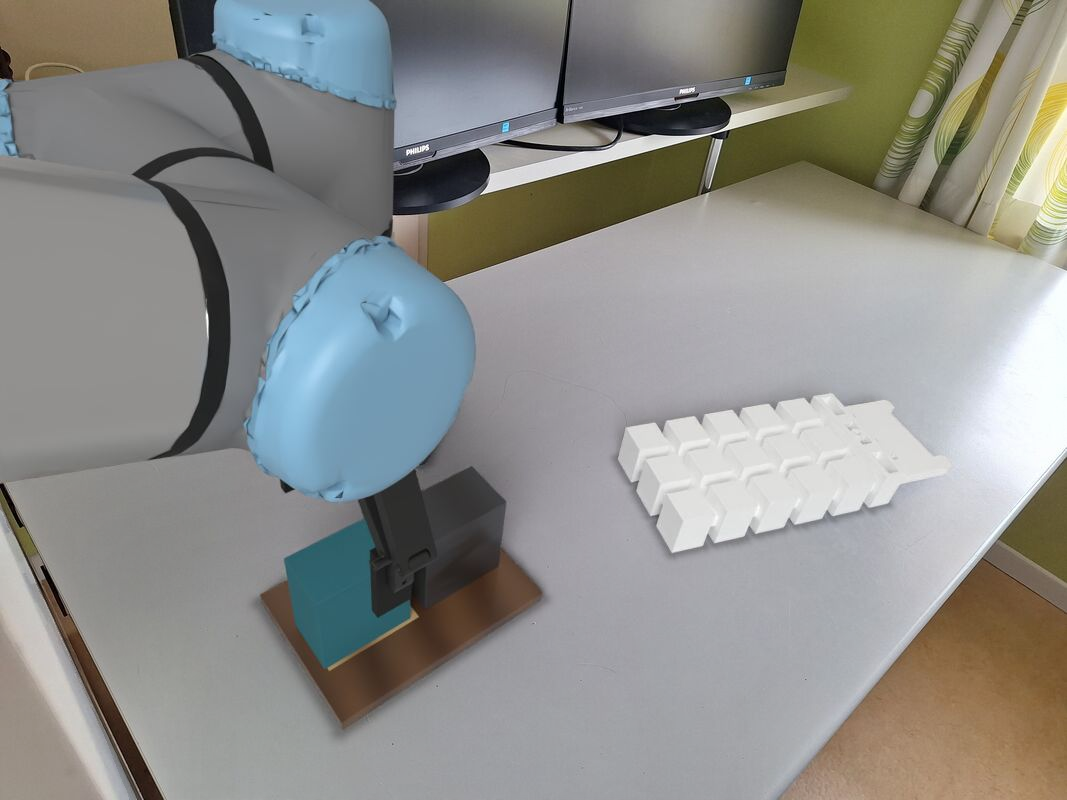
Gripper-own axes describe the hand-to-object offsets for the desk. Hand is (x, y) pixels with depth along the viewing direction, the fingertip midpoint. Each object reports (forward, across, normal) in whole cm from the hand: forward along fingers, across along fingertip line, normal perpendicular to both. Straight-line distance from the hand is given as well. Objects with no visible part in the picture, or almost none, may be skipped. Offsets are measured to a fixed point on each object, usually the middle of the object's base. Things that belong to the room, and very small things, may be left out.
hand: (342, 540), depth 56 cm
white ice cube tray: (+12, -10, -48) cm, 51 cm away
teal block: (+11, 0, 0) cm, 11 cm away
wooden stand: (+12, 0, -6) cm, 14 cm away
